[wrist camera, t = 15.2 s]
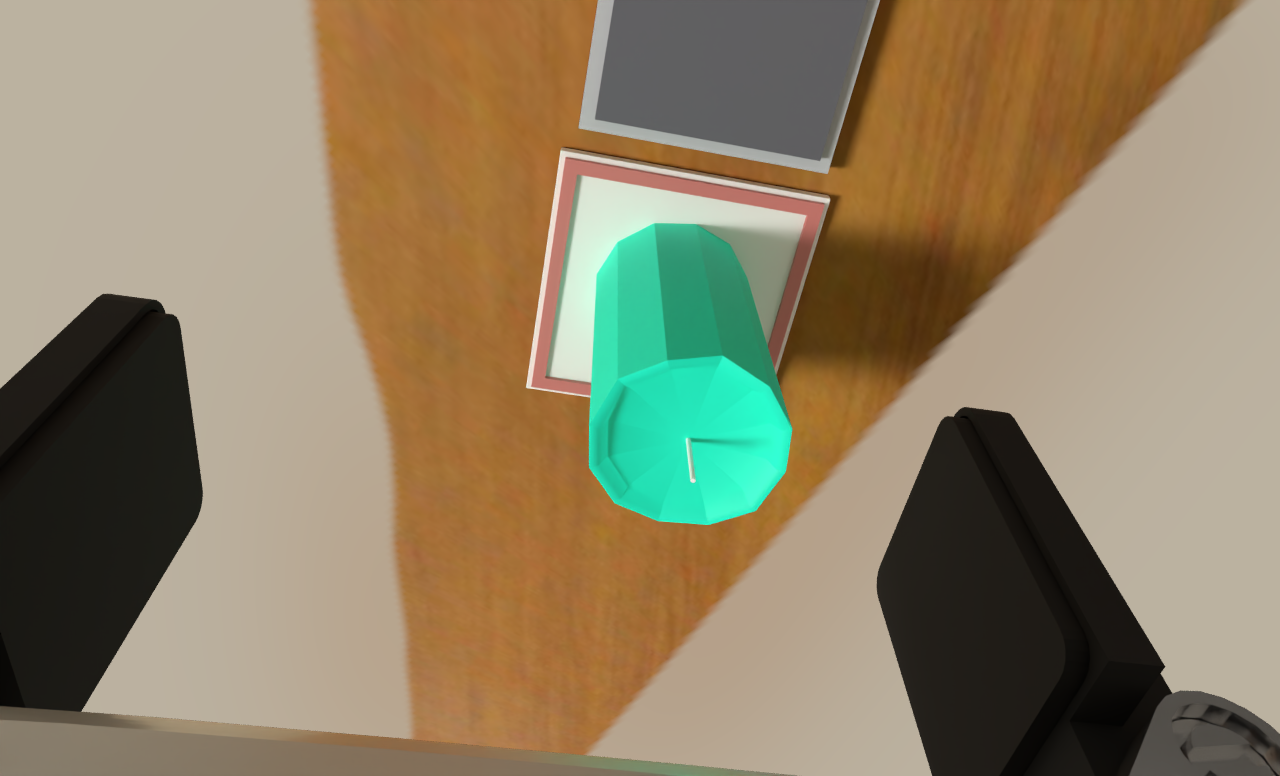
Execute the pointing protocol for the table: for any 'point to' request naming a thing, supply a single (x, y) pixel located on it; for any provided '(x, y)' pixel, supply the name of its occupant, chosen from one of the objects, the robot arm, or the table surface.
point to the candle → (683, 381)
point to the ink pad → (728, 75)
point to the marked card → (650, 193)
